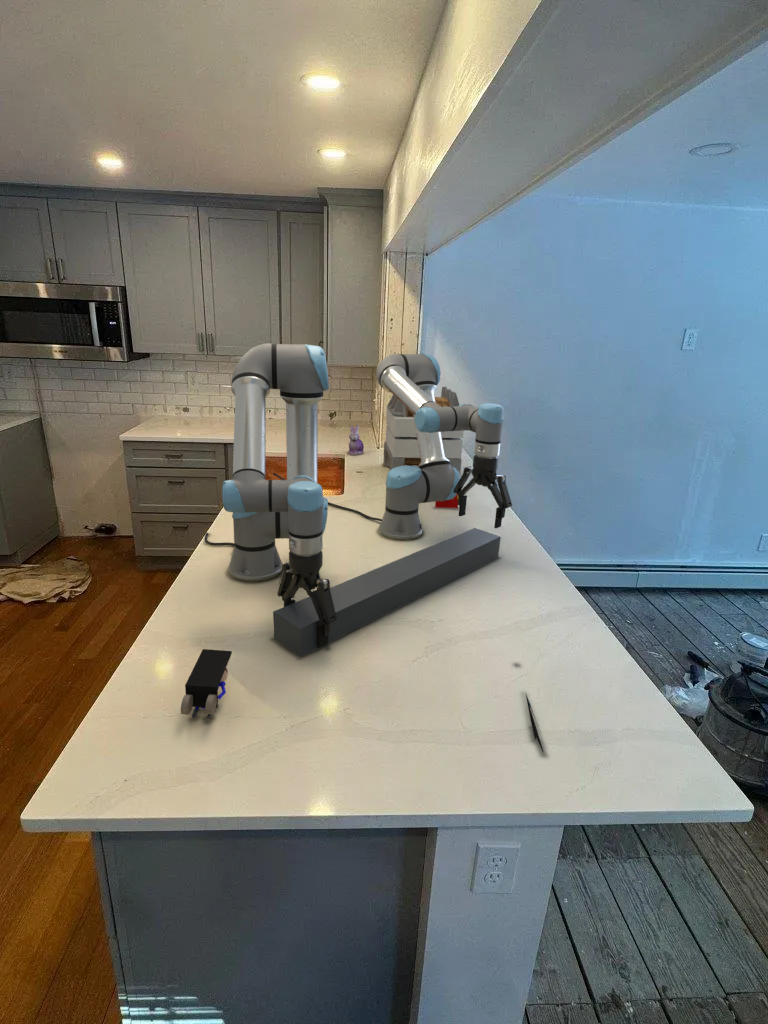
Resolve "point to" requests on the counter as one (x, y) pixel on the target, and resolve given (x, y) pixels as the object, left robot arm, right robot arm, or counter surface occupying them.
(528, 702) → the feather
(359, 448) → the figurine
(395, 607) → the dark gray long bar
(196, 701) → the black toy cart
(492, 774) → the counter surface
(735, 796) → the counter surface
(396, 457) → the grey slatted crate
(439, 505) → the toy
